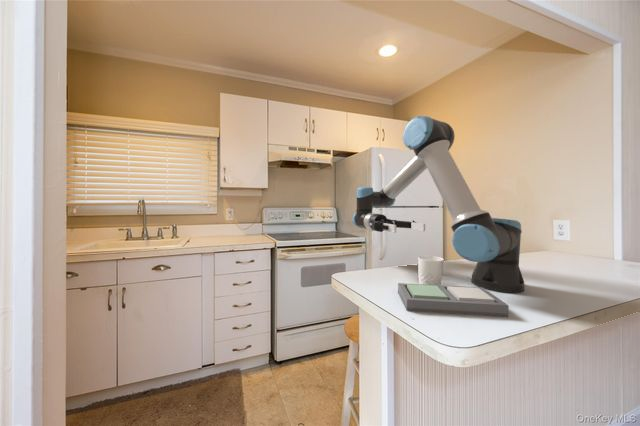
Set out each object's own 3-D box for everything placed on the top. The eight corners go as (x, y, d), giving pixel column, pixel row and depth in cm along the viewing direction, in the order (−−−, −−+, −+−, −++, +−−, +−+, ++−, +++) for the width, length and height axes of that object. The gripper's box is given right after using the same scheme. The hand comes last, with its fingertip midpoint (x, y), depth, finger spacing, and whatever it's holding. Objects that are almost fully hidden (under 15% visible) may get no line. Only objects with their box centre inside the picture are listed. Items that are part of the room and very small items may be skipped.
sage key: (436, 289, 78) (436, 285, 78) (447, 300, 69) (447, 296, 69) (406, 287, 79) (406, 284, 79) (413, 298, 70) (413, 294, 70)
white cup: (445, 292, 82) (446, 261, 81) (419, 290, 84) (420, 260, 83) (439, 284, 90) (440, 256, 89) (415, 282, 91) (416, 254, 91)
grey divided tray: (481, 297, 79) (482, 287, 78) (507, 316, 66) (508, 305, 65) (397, 292, 82) (398, 283, 81) (406, 310, 69) (407, 299, 68)
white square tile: (478, 291, 77) (478, 287, 76) (494, 303, 68) (494, 299, 68) (446, 289, 78) (447, 286, 78) (458, 301, 69) (459, 297, 69)
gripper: (398, 229, 119) (435, 236, 100) (351, 231, 109) (381, 240, 90) (398, 213, 119) (436, 217, 99) (351, 214, 109) (382, 218, 89)
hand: (410, 228), depth 95 cm, fingers open, 13 cm apart
